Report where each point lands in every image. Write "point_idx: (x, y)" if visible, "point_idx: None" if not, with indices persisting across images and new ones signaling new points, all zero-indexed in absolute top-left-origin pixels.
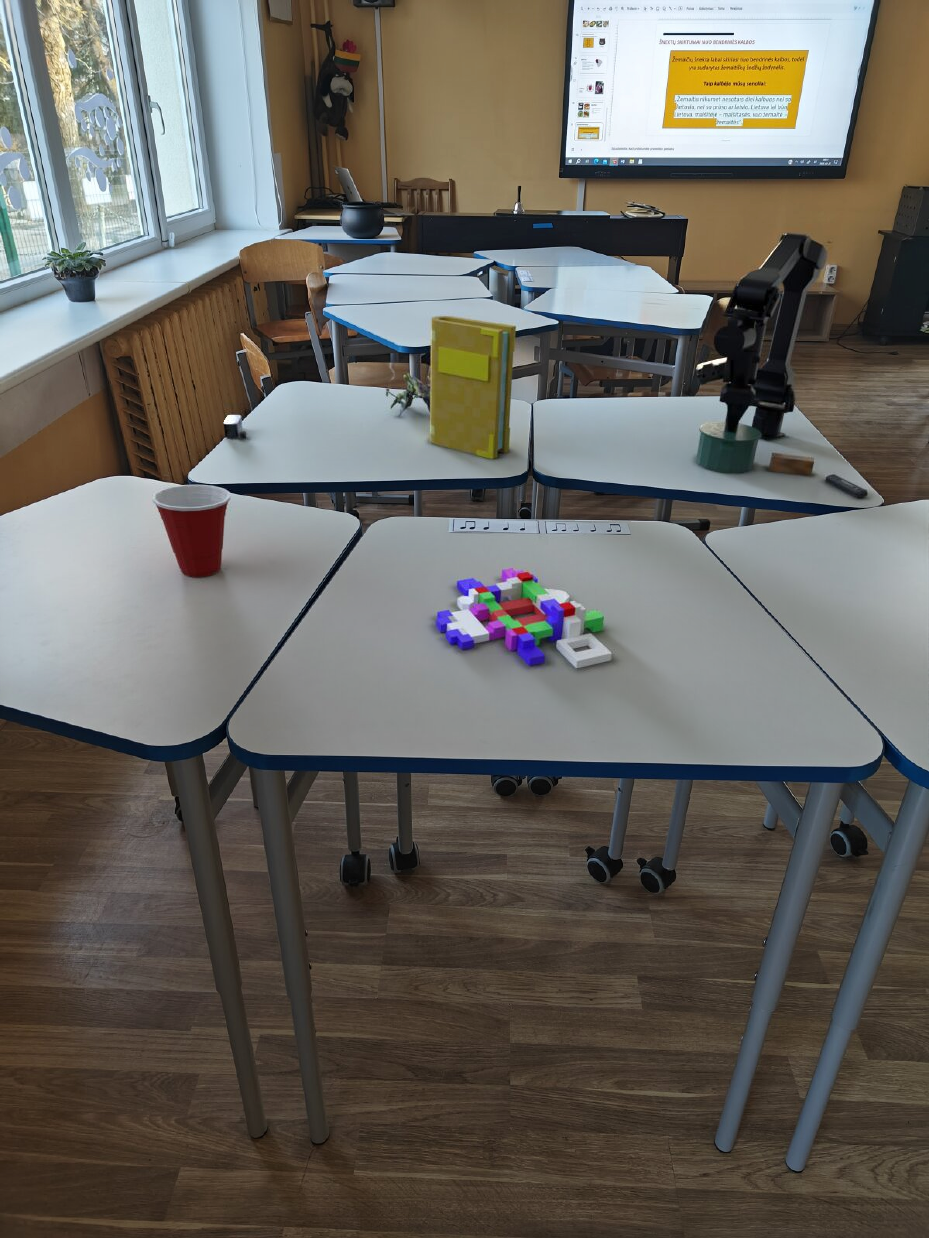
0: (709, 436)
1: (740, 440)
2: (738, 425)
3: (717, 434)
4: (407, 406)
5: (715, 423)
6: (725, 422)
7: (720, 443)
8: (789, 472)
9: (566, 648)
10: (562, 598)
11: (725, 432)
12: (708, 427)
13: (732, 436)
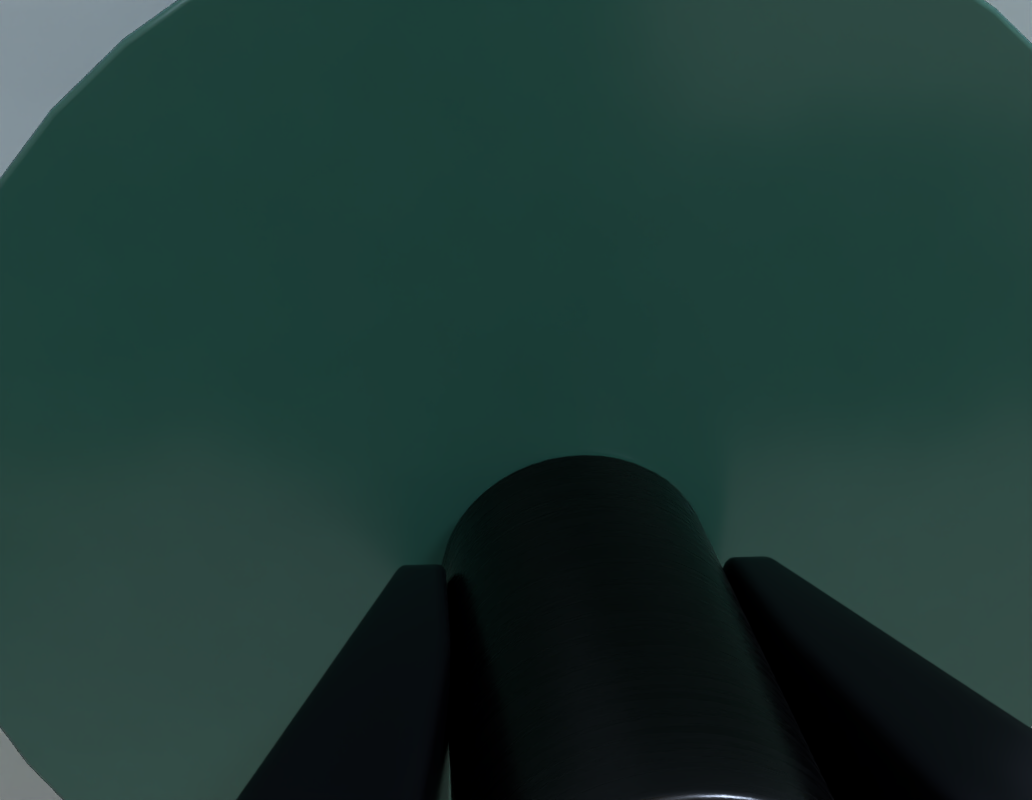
0: (15, 167)
1: (23, 749)
2: (944, 667)
3: (156, 350)
4: None
5: (1012, 266)
6: (559, 564)
7: None
8: None
9: None
10: None
11: (398, 494)
12: (649, 118)
13: (180, 625)
